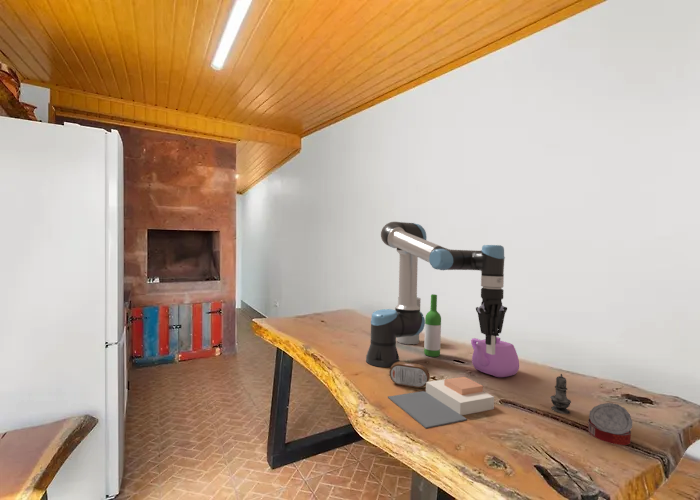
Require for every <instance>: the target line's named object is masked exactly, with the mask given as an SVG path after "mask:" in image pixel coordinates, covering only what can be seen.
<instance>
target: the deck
mask: <svg viewBox="0 0 700 500" xmlns="http://www.w3.org/2000/svg"><path fill="white" fill-rule="evenodd" d="M425 392H426V393H428V394H430V395H431V396H433V397H434V398H436V399H437V400H439V401H440V402H442V403H443V404H445V405H446V406H448V407H449V408H451V409H453V410H454V411H456V412H457V413H459V414H460V415H462V416H465V415H470V414H476V413H482V412H486V411H491V410H494V409H495V407H494V406H495V396H493V395H492V394H490V393H488V392H486V391H484V390H483V392H478V393H472V394H466V395H461V394H459V393H457V392H455V391H454V390H452V389H450V388H448V387H447V386H445V385H444V379H438V380H431V381H430V380H429V381H428V382H426V386H425Z"/></svg>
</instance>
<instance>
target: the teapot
mask: <svg viewBox="0 0 700 500" xmlns="http://www.w3.org/2000/svg"><path fill="white" fill-rule="evenodd" d="M485 339H486V338H485ZM485 339H479V338H475V337H474V338H471V339H470V341H471V343H470V344H471V346H472V349H473V352H472V356H471V363H472V366H473V368H474V369H475V370H477V371H479V372H481V373H485V374H487V375H491V376H493V377H495V378H507V377H512V376H514V375H516V374H517V373H518V371H519V370H520V361H519V357H518V354H517V350H516V348H515V346H514V344H513V343H510V342H507V341H503V340H501V337H499V336H496V344H495V354H494V355H491V354H488V353H486V343H485Z"/></svg>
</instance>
